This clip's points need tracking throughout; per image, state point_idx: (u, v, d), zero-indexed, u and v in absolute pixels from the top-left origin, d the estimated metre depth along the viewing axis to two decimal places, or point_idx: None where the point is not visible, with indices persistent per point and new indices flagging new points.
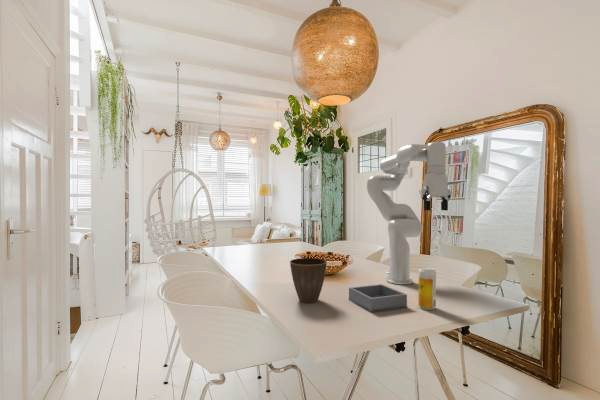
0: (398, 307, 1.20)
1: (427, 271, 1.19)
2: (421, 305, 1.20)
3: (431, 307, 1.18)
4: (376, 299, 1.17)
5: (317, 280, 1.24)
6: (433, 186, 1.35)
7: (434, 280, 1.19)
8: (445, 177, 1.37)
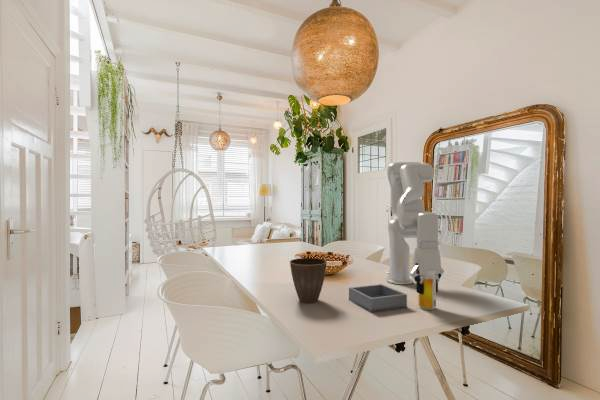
0: (398, 307, 1.20)
1: None
2: (421, 305, 1.20)
3: (431, 307, 1.18)
4: (376, 299, 1.17)
5: (317, 280, 1.24)
6: (423, 265, 1.18)
7: (434, 280, 1.19)
8: (438, 253, 1.20)
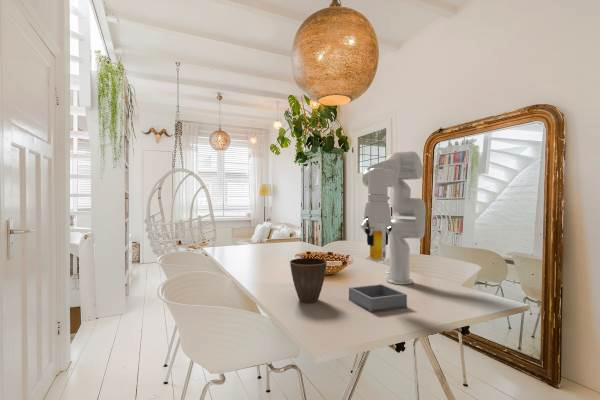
0: (398, 307, 1.20)
1: None
2: (371, 257, 1.25)
3: (380, 257, 1.23)
4: (376, 299, 1.17)
5: (317, 280, 1.24)
6: (373, 217, 1.23)
7: (383, 232, 1.24)
8: (387, 206, 1.25)
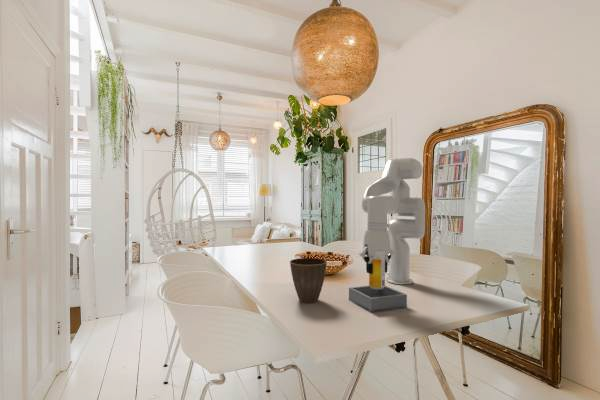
0: (398, 307, 1.20)
1: (376, 252, 1.23)
2: (370, 285, 1.24)
3: (379, 286, 1.23)
4: (376, 299, 1.17)
5: (317, 280, 1.24)
6: (372, 246, 1.23)
7: (383, 260, 1.24)
8: (387, 234, 1.25)
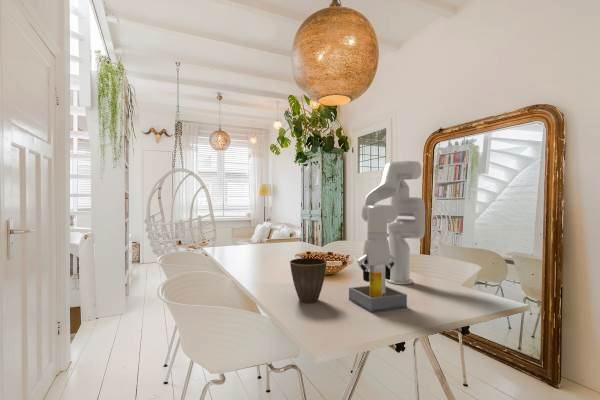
0: (398, 307, 1.20)
1: None
2: None
3: None
4: (376, 299, 1.17)
5: (317, 280, 1.24)
6: (372, 256, 1.23)
7: (383, 274, 1.24)
8: (387, 244, 1.25)
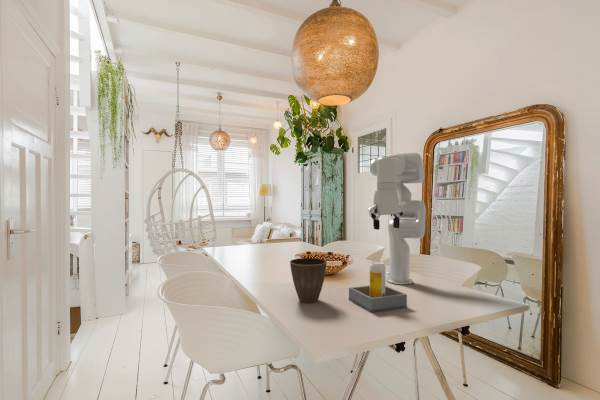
0: (398, 307, 1.20)
1: (376, 265, 1.24)
2: None
3: None
4: (376, 299, 1.17)
5: (317, 280, 1.24)
6: (381, 204, 1.28)
7: (383, 274, 1.24)
8: (396, 194, 1.31)
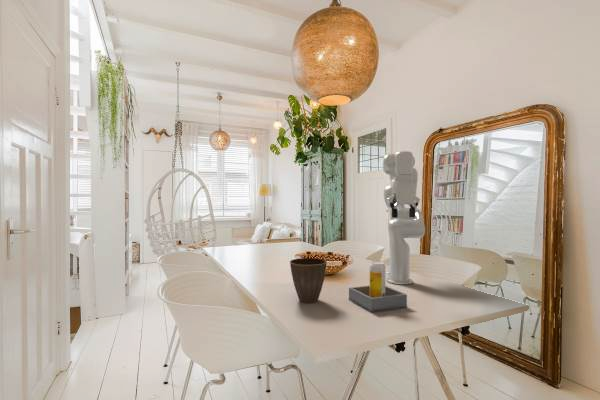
0: (398, 307, 1.20)
1: (376, 265, 1.24)
2: None
3: None
4: (376, 299, 1.17)
5: (317, 280, 1.24)
6: (400, 194, 1.40)
7: (383, 274, 1.24)
8: (412, 185, 1.42)
